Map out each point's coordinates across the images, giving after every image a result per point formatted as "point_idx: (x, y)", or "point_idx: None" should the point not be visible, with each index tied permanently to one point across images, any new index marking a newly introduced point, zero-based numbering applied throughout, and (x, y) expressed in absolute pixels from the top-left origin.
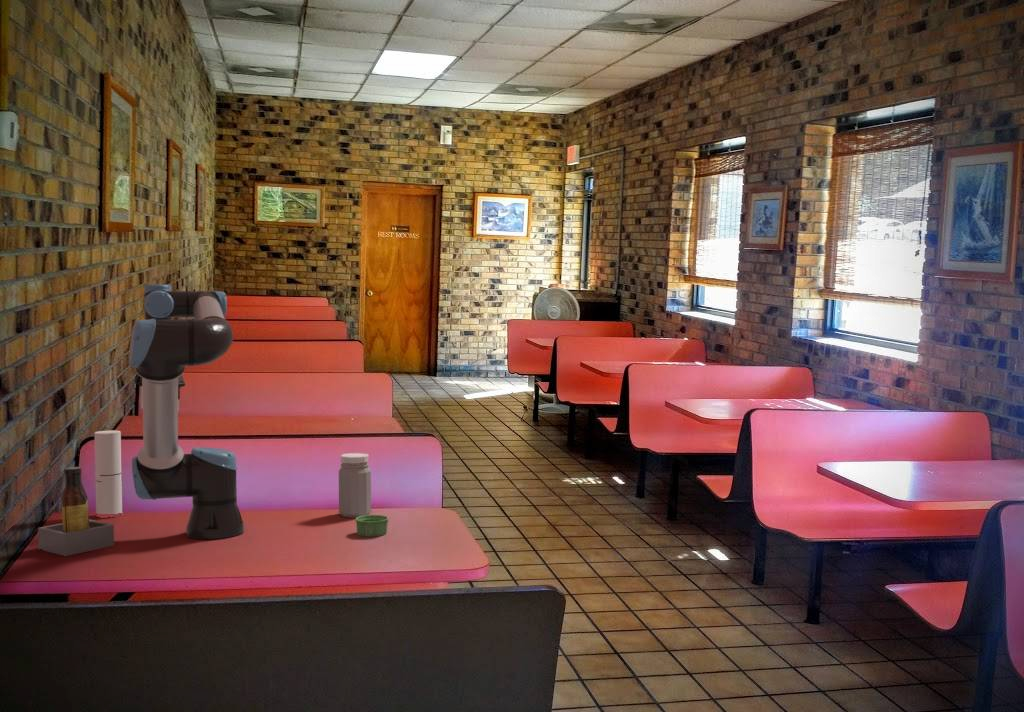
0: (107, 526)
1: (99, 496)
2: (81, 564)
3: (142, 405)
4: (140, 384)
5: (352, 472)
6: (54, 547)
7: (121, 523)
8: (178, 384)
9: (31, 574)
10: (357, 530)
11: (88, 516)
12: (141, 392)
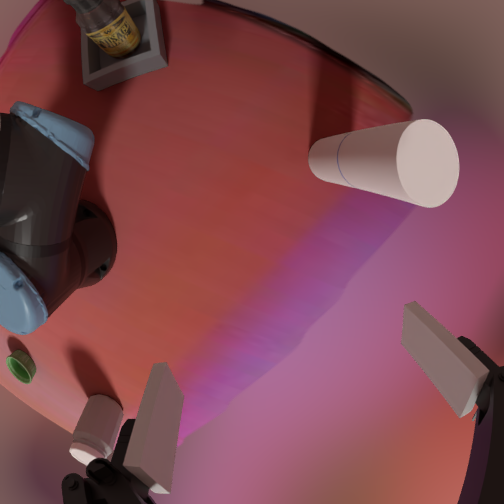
0: (83, 75)
1: (335, 135)
2: (48, 48)
3: (412, 313)
4: (498, 378)
5: (73, 433)
6: None
7: (249, 147)
8: (64, 485)
9: (56, 6)
10: (21, 353)
11: (99, 45)
12: (459, 351)
